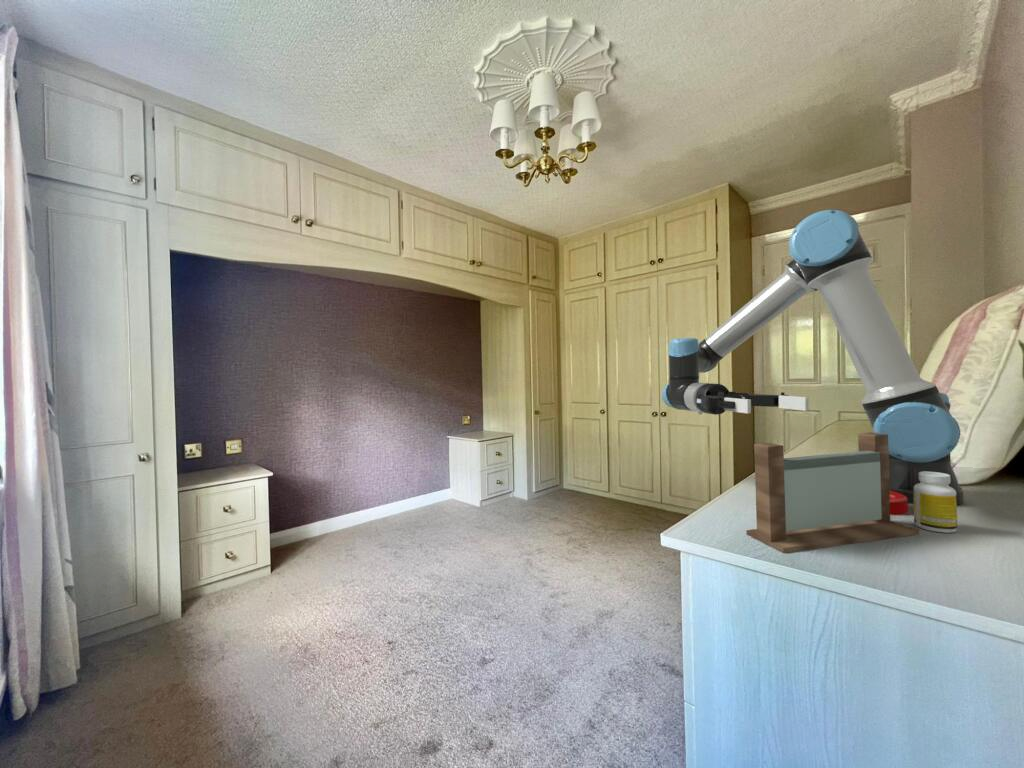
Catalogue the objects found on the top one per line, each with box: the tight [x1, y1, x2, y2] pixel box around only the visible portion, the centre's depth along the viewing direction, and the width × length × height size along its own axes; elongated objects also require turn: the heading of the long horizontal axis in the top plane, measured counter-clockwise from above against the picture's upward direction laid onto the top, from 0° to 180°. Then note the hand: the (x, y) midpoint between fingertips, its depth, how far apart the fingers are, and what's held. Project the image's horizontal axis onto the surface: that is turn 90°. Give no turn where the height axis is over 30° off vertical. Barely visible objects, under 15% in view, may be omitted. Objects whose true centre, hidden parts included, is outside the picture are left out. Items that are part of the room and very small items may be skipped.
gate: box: [784, 451, 882, 531], centre depth 73 cm, size 20×2×12 cm, turn 101°
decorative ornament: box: [890, 491, 909, 516], centre depth 86 cm, size 10×10×3 cm
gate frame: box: [745, 431, 920, 553], centre depth 73 cm, size 27×8×17 cm, turn 101°
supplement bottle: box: [913, 471, 958, 534], centre depth 74 cm, size 5×5×10 cm
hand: (778, 405), depth 82 cm, fingers open, 13 cm apart
